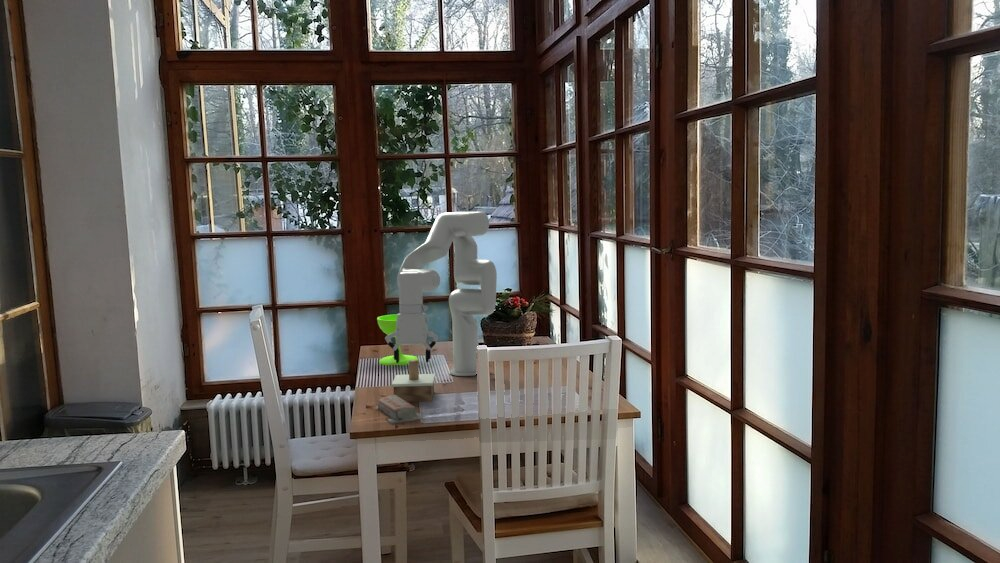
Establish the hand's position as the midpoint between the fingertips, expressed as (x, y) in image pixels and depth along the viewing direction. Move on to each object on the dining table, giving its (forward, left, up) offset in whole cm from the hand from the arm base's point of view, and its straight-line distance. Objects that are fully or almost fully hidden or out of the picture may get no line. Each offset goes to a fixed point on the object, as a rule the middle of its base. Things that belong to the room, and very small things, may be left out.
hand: (412, 361), depth 250 cm
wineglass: (+12, -61, -13) cm, 63 cm away
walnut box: (0, -1, -13) cm, 13 cm away
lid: (0, -1, -7) cm, 7 cm away
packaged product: (+4, +16, -13) cm, 21 cm away
